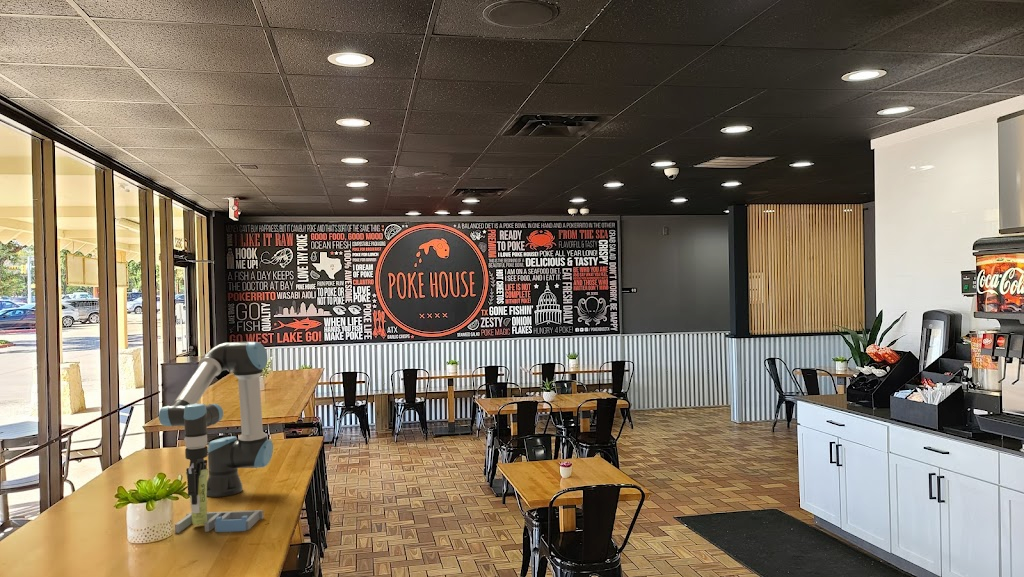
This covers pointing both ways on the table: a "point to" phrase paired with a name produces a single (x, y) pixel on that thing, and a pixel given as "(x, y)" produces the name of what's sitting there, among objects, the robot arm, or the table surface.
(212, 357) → the robot arm
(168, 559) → the table surface
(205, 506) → the tube
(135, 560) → the table surface
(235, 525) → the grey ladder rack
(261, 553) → the table surface
